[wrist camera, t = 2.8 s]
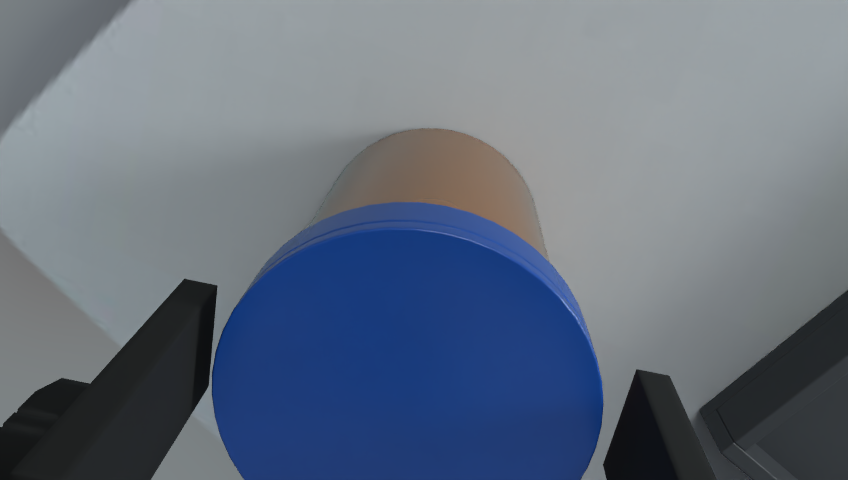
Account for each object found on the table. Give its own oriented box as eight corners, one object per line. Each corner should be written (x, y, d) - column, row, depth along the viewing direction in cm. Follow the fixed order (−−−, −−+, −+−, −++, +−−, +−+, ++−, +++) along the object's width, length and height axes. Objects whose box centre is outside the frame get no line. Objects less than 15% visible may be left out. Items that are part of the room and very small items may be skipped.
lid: (427, 565, 19) (423, 619, 18) (165, 379, 18) (135, 421, 16) (668, 361, 17) (688, 403, 15) (387, 120, 15) (376, 139, 14)
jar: (440, 363, 28) (424, 581, 18) (283, 240, 26) (173, 405, 17) (583, 225, 25) (652, 391, 16) (418, 80, 24) (383, 165, 14)
